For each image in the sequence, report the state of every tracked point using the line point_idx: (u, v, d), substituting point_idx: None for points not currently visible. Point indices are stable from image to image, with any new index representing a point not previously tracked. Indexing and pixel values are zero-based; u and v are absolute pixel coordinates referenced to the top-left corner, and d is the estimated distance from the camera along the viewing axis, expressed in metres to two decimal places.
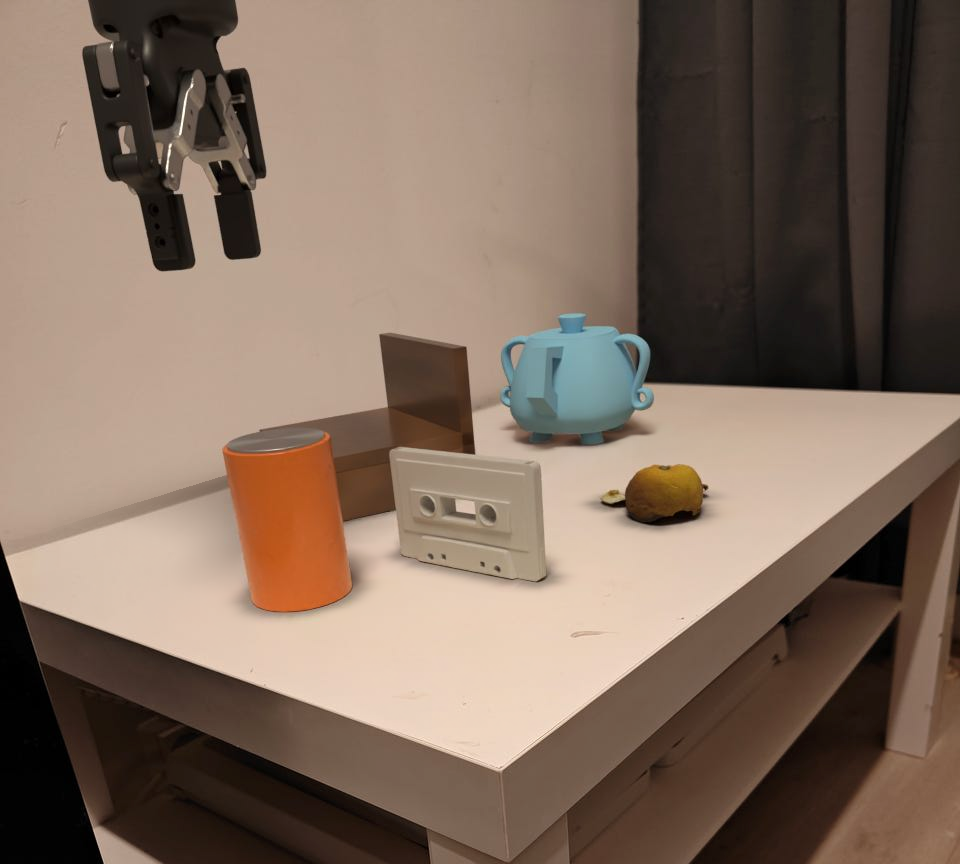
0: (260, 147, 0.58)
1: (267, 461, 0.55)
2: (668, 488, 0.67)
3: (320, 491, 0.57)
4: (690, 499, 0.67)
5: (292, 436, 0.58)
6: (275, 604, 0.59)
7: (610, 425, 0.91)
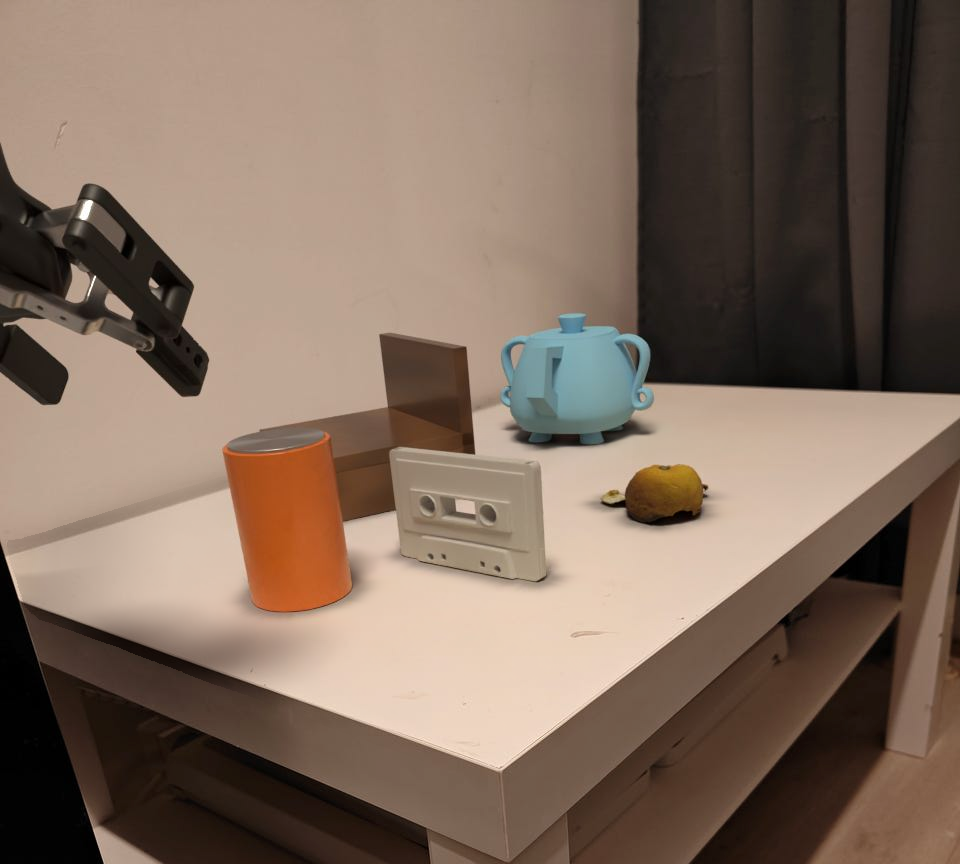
0: (151, 310, 0.37)
1: (267, 461, 0.55)
2: (668, 488, 0.67)
3: (320, 491, 0.57)
4: (690, 499, 0.67)
5: (292, 436, 0.58)
6: (275, 604, 0.59)
7: (610, 425, 0.91)
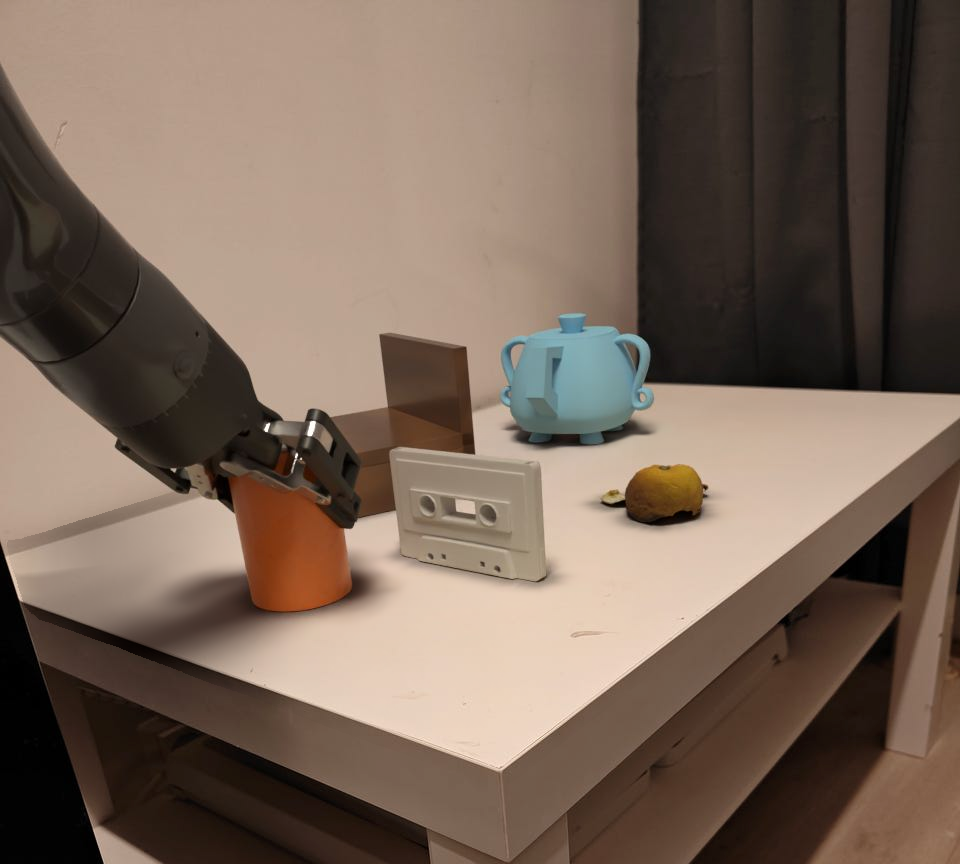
0: (338, 487, 0.53)
1: None
2: (668, 488, 0.67)
3: None
4: (690, 499, 0.67)
5: None
6: (275, 604, 0.59)
7: (610, 425, 0.91)
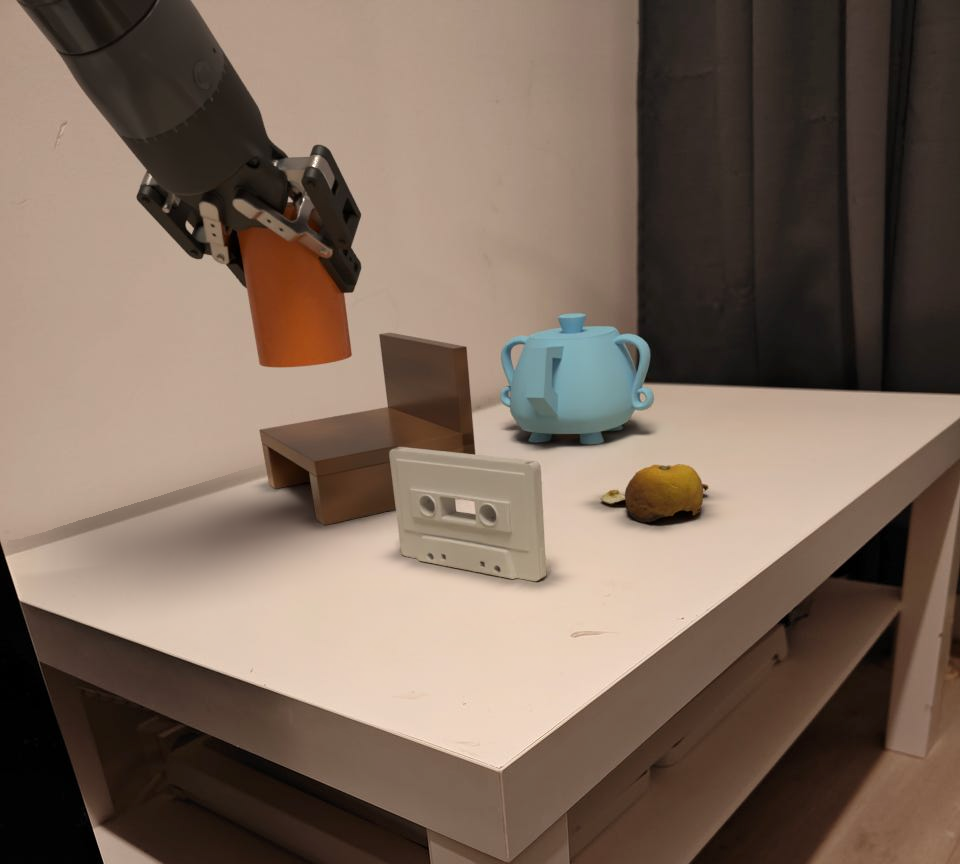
0: (339, 229, 0.58)
1: None
2: (668, 488, 0.67)
3: None
4: (690, 499, 0.67)
5: None
6: (281, 360, 0.64)
7: (610, 425, 0.91)
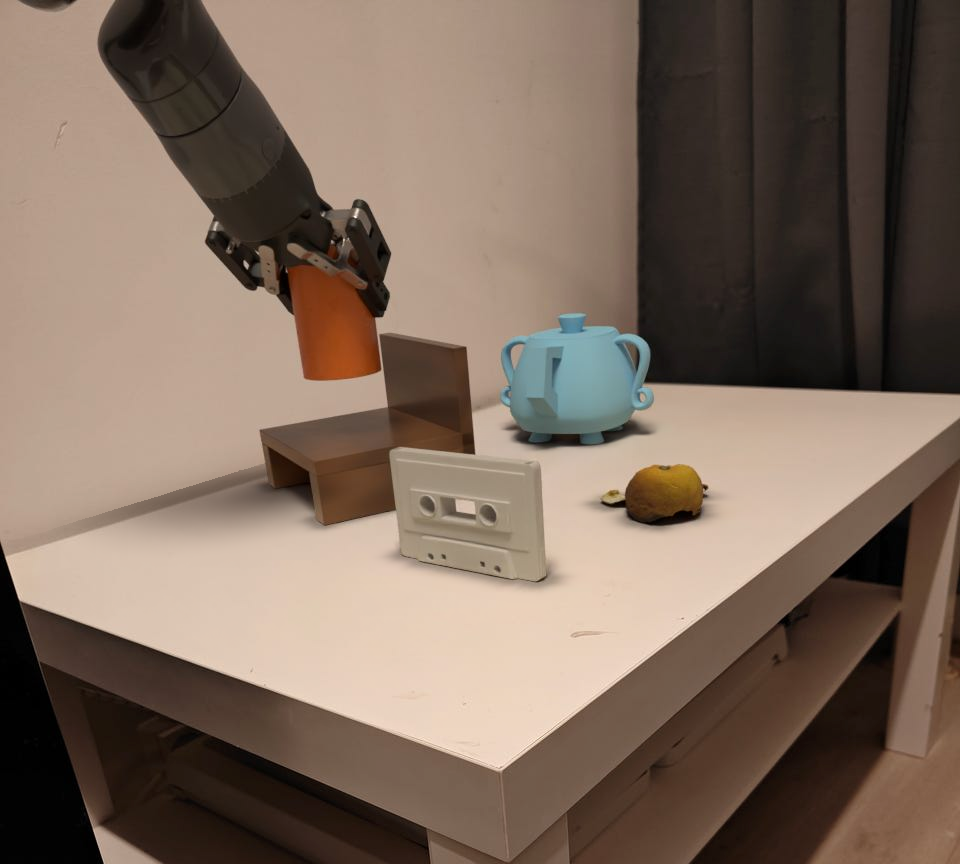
0: (374, 267, 0.70)
1: None
2: (668, 488, 0.67)
3: None
4: (690, 499, 0.67)
5: None
6: (323, 374, 0.76)
7: (610, 425, 0.91)
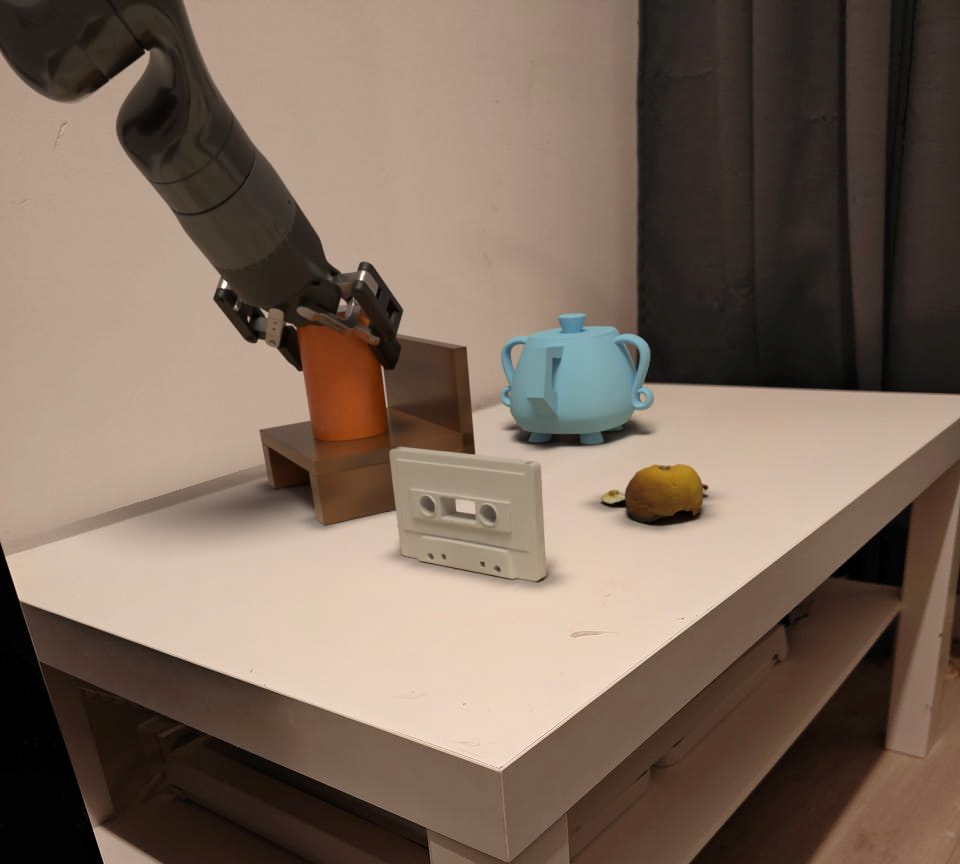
0: (385, 325, 0.72)
1: None
2: (668, 488, 0.67)
3: (367, 347, 0.76)
4: (690, 499, 0.67)
5: (346, 307, 0.77)
6: (332, 435, 0.78)
7: (610, 425, 0.91)
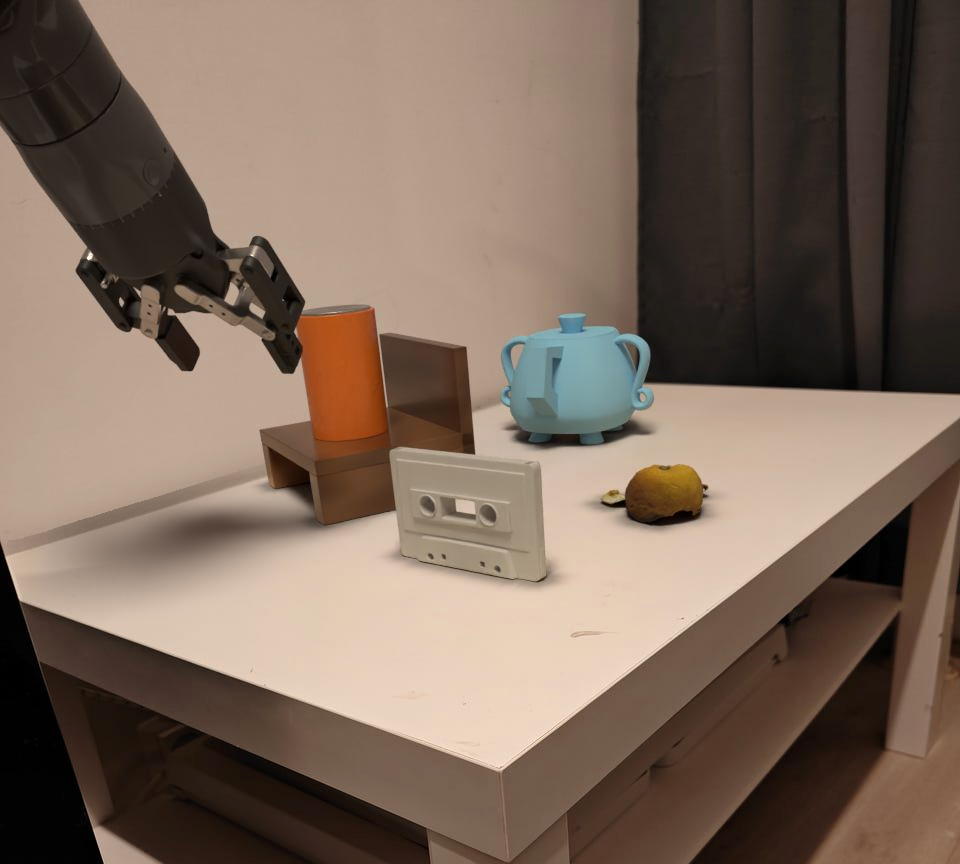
0: (281, 315, 0.60)
1: (330, 320, 0.74)
2: (668, 488, 0.67)
3: (367, 347, 0.76)
4: (690, 499, 0.67)
5: (346, 307, 0.77)
6: (332, 435, 0.78)
7: (610, 425, 0.91)
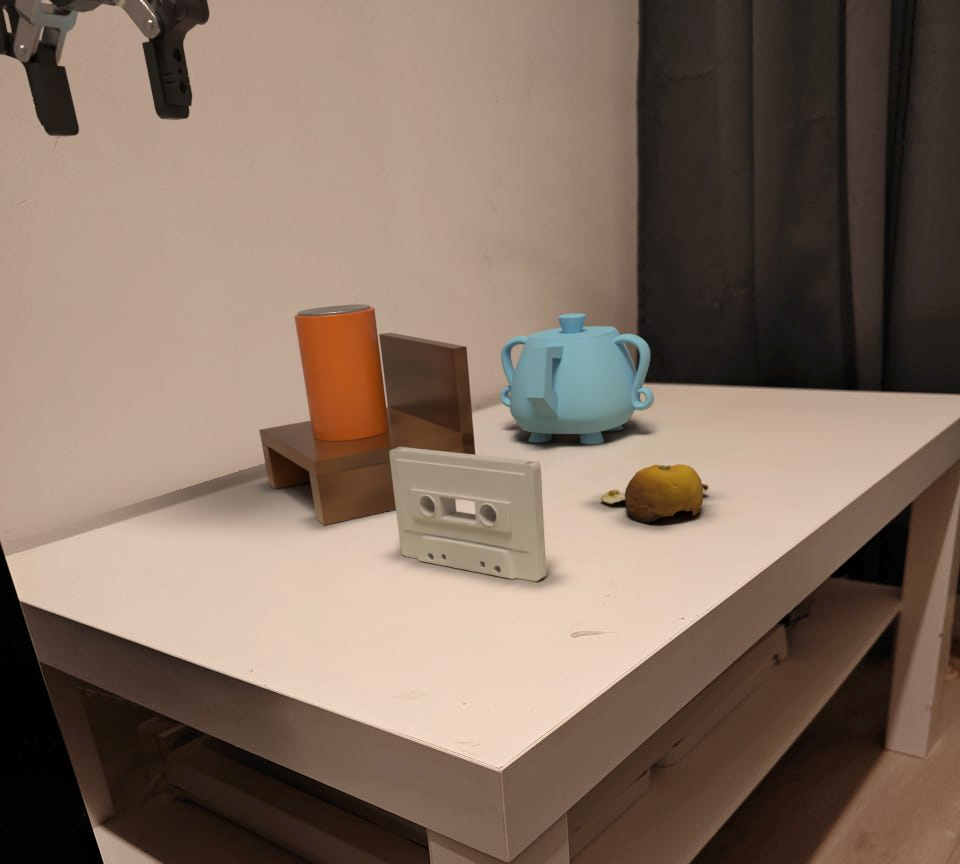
0: None
1: (330, 320, 0.74)
2: (668, 488, 0.67)
3: (367, 347, 0.76)
4: (690, 499, 0.67)
5: (346, 307, 0.77)
6: (332, 435, 0.78)
7: (610, 425, 0.91)
